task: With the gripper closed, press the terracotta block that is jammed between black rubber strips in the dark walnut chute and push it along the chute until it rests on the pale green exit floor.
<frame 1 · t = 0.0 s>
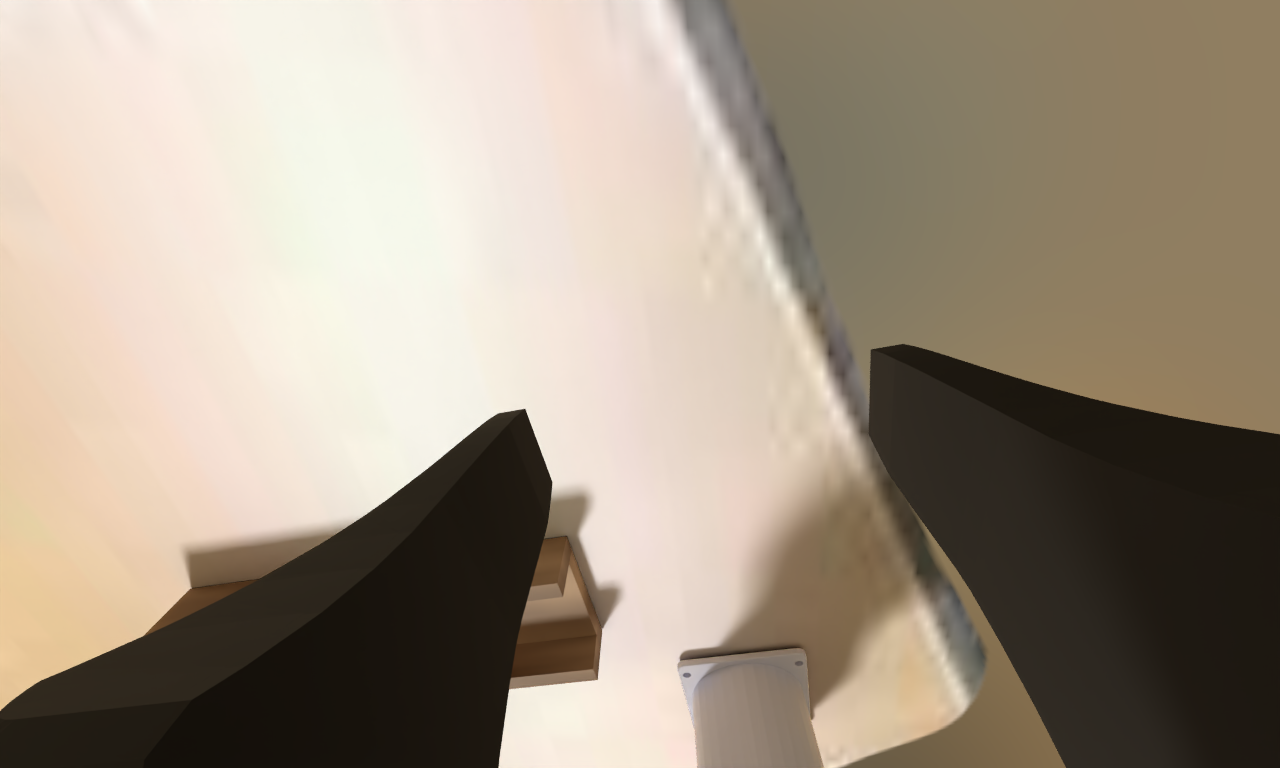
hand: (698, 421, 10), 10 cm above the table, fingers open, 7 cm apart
chute: (400, 609, 29), on the table
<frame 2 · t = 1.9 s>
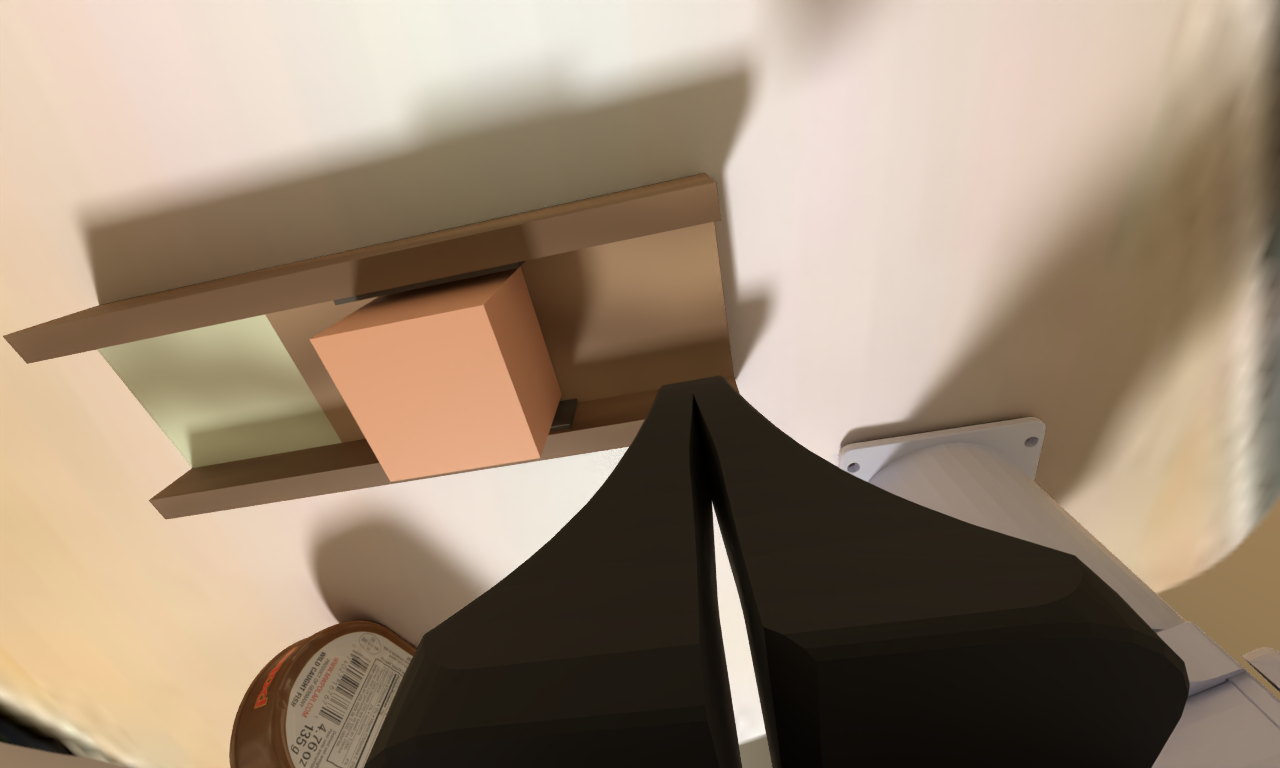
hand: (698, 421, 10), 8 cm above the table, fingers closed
tin: (427, 662, 29), on the table
block: (456, 371, 16), point 3 cm above the table, slide at 0.0 cm
chute: (424, 347, 19), on the table
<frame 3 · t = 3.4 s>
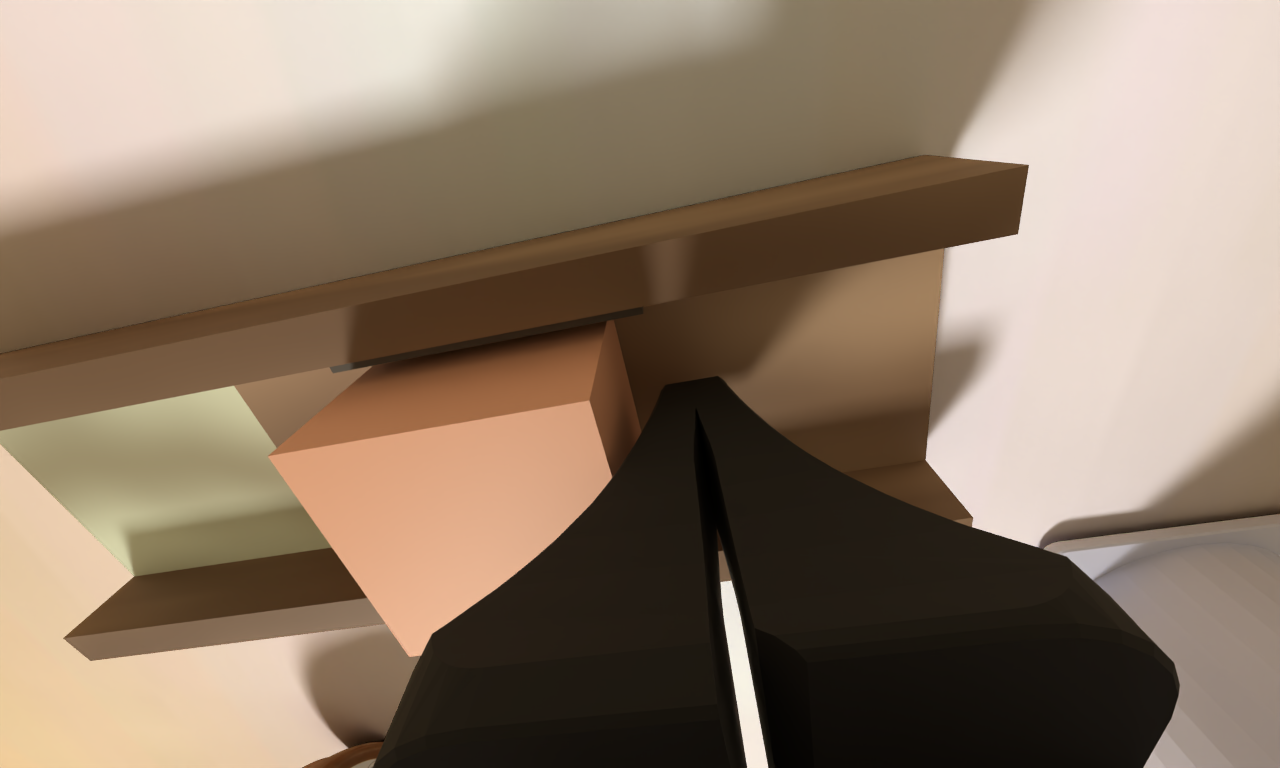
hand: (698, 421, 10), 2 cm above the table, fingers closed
block: (513, 475, 10), point 3 cm above the table, slide at 0.3 cm, touching gripper
chute: (463, 414, 13), on the table
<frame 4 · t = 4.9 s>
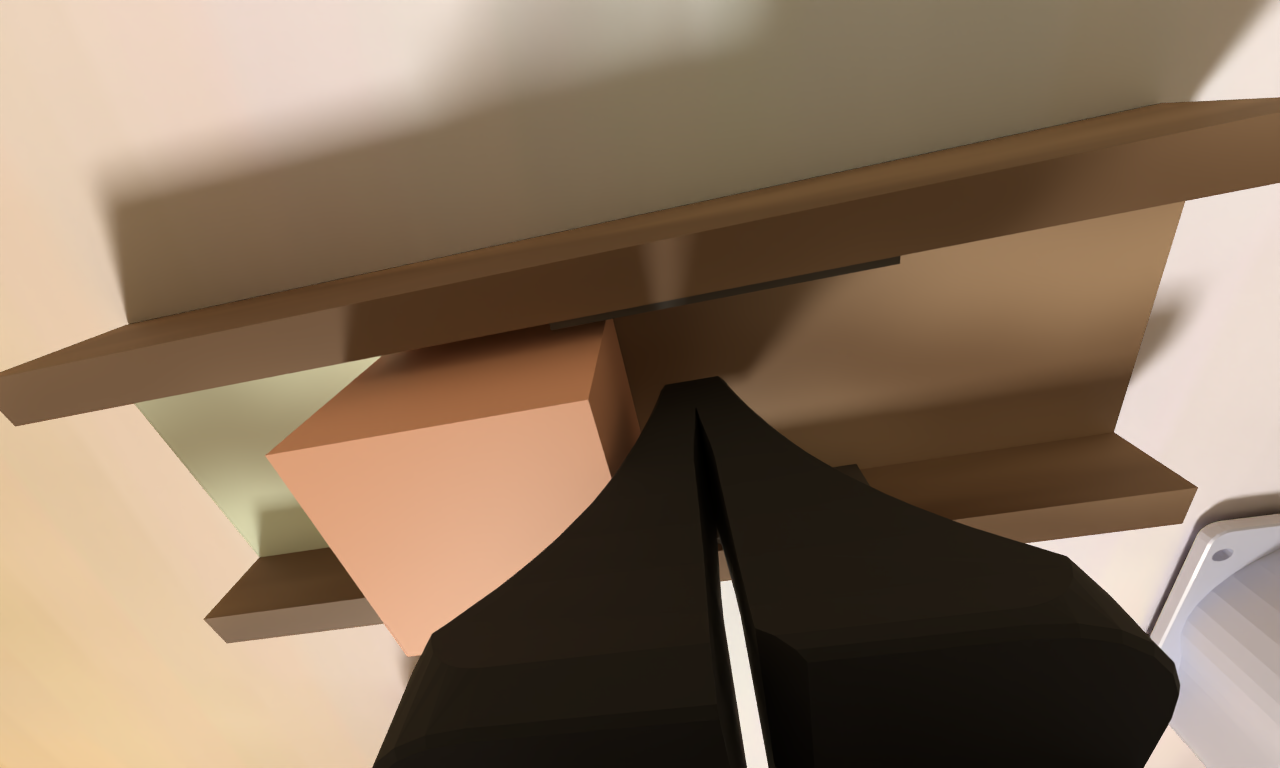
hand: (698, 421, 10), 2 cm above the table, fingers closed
block: (511, 474, 10), point 3 cm above the table, slide at 4.6 cm, touching gripper
chute: (621, 386, 12), on the table
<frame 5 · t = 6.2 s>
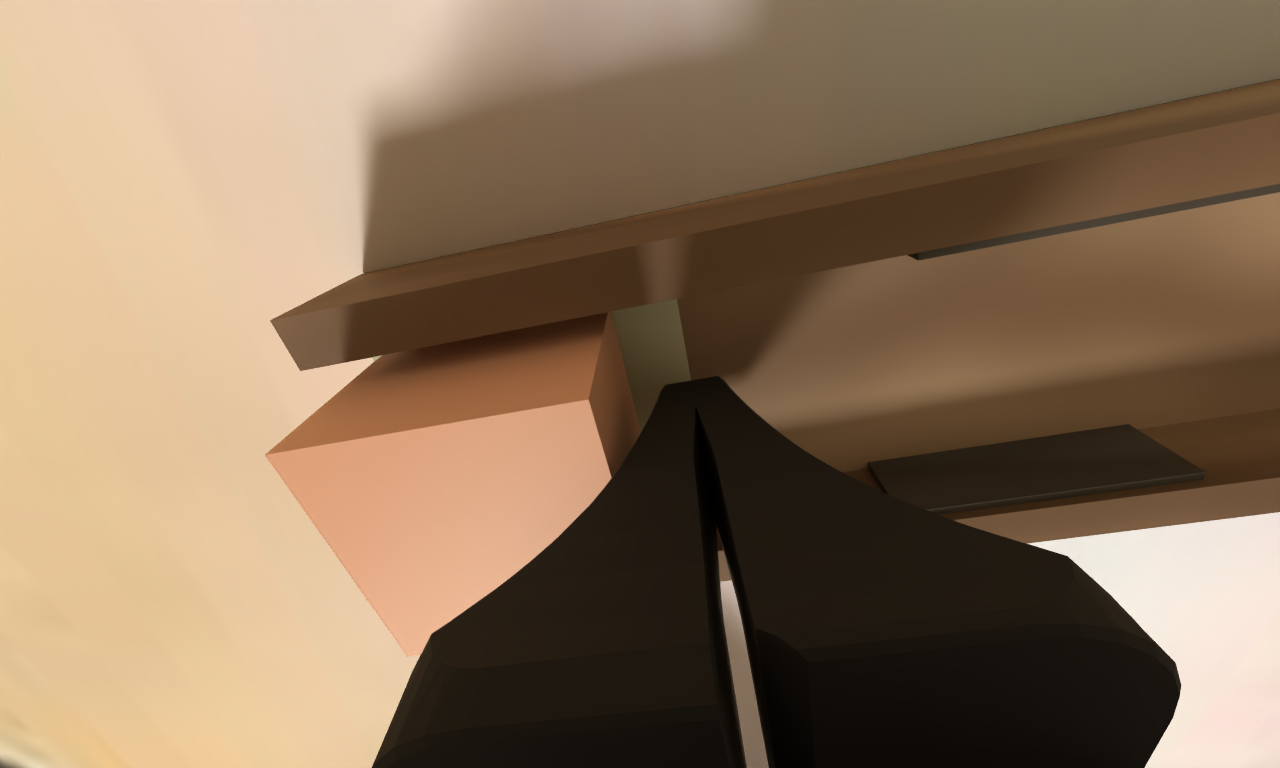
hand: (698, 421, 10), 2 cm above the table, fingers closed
block: (511, 474, 10), point 3 cm above the table, slide at 10.9 cm, touching gripper
chute: (874, 342, 12), on the table
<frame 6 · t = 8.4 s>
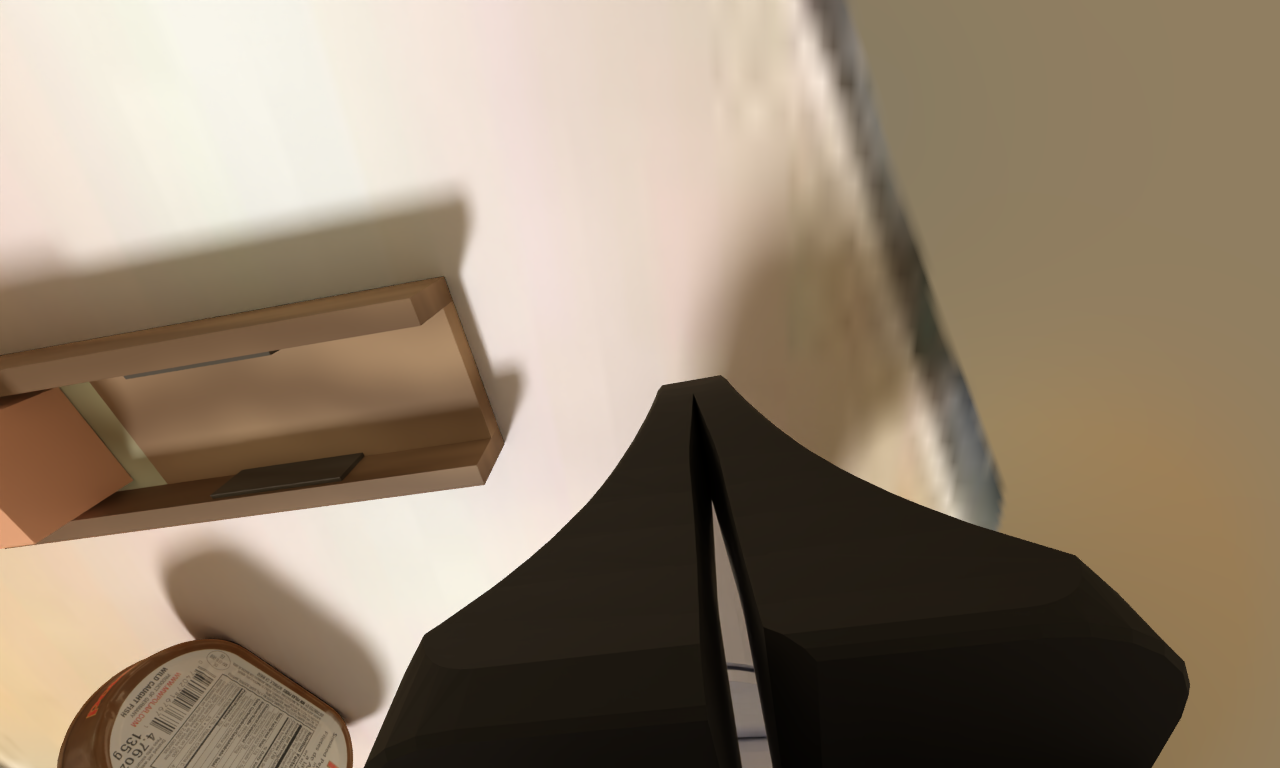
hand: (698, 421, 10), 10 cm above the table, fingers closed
tin: (284, 678, 31), on the table
chute: (235, 405, 22), on the table
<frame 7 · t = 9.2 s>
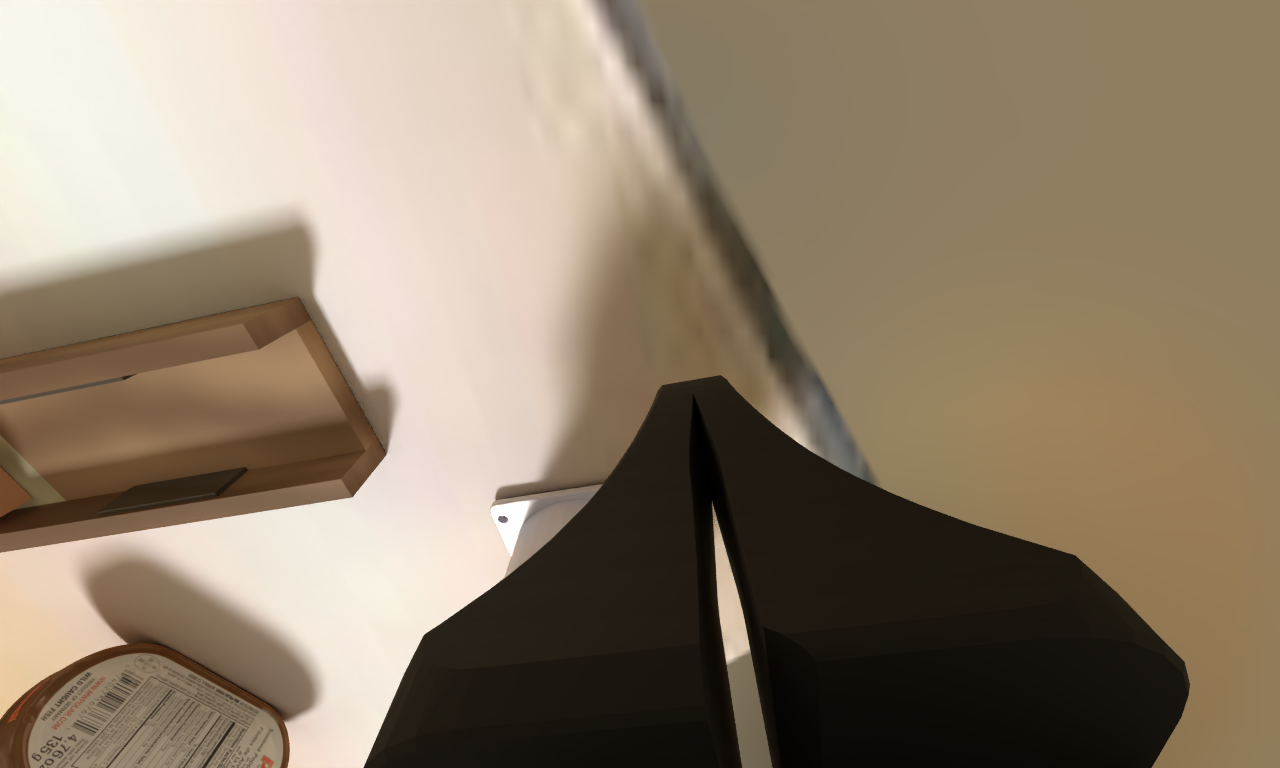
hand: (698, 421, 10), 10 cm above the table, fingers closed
tin: (219, 678, 33), on the table
chute: (122, 424, 22), on the table
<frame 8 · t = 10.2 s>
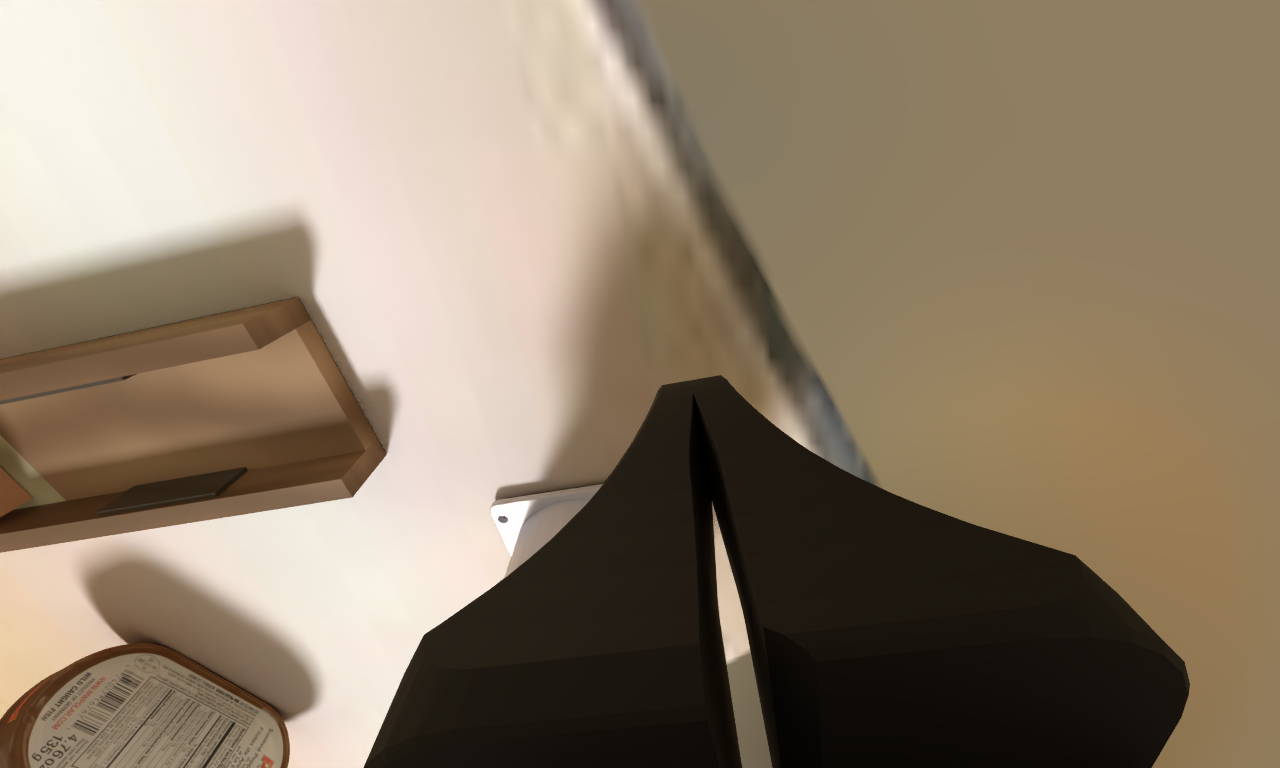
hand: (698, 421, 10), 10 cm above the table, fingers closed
tin: (219, 678, 33), on the table
chute: (122, 424, 22), on the table
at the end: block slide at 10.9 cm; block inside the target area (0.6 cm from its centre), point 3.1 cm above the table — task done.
